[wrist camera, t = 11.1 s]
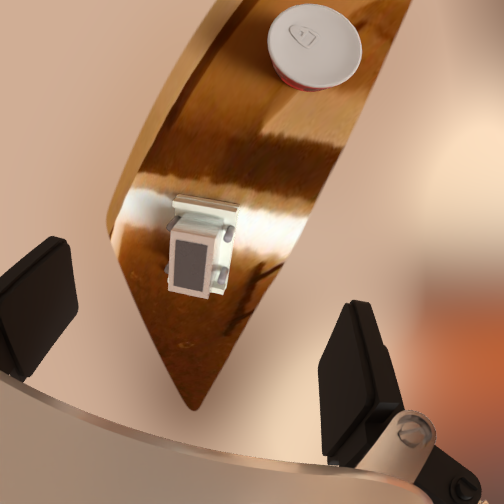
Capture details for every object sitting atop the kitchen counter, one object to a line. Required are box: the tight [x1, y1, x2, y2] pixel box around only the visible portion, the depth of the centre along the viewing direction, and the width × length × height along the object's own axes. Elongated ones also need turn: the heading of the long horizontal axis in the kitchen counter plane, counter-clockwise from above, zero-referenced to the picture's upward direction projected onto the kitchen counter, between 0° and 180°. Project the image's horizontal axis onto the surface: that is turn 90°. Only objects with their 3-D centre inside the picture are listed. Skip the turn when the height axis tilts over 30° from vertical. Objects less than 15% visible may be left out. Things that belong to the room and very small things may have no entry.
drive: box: [168, 212, 224, 299], centre depth 39 cm, size 8×5×6 cm, turn 170°
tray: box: [164, 194, 240, 295], centre depth 41 cm, size 12×8×4 cm, turn 170°
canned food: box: [267, 4, 362, 92], centre depth 26 cm, size 8×8×11 cm
